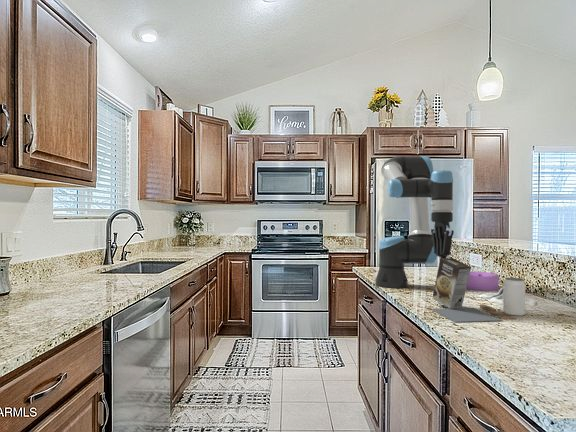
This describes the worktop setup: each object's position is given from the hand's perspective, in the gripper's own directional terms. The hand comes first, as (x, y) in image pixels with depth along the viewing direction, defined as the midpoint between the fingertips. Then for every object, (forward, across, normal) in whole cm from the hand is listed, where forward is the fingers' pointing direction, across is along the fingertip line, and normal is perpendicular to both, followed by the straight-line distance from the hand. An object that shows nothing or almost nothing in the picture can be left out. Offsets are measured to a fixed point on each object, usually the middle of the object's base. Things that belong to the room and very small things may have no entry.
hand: (441, 273), depth 144 cm
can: (+12, +15, +18) cm, 27 cm away
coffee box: (+11, +3, 0) cm, 11 cm away
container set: (+12, -30, +29) cm, 44 cm away
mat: (+12, +15, 0) cm, 19 cm away
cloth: (+12, -6, +30) cm, 33 cm away
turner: (+12, +14, +12) cm, 22 cm away
